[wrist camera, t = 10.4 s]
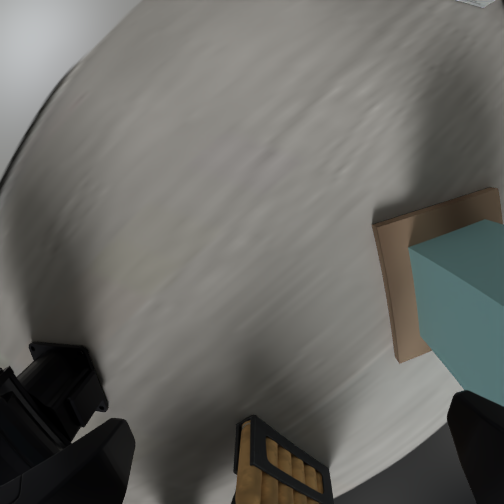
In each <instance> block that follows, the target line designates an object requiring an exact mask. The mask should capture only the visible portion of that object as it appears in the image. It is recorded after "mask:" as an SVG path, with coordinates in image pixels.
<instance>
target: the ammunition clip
mask: <svg viewBox="0 0 504 504" xmlns="http://www.w3.org/2000/svg"><path fill="white" fill-rule="evenodd" d="M233 472H234V473H235V474H236V475H237V484H236V495H235V501H236V504H334V501H333V493H332V486H331V479H330V473H329V468H327V467H326V466H324V465H323V464H321V463H320V462H318V461H317V460H315V459H314V458H312V457H311V456H309V455H308V454H307V453H305V452H304V451H302V450H301V449H299V448H298V447H297V446H295V445H294V444H293V443H291V442H290V441H288V440H287V439H286V438H284V437H283V436H282V435H280V434H279V433H278V432H276V431H275V430H274V429H272V428H271V427H270V426H268V425H267V424H266V423H265V422H263V421H262V420H261V419H259V418H258V417H257V416H256V415H252V416H250V417H249V418H247V419H245V420H244V421H242V422H240V423H238V424H237V427H236V443H235V457H234V470H233Z"/></svg>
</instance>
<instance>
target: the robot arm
mask: <svg viewBox="0 0 504 504" xmlns="http://www.w3.org/2000/svg"><path fill="white" fill-rule="evenodd" d="M29 349H30V352H31V355H32V357H33V360H34V361H33V362H32V363H31V364H30V365H29V366H28V367H27V368H26V369H25V370H24V371H23V372H22V373H21V374H19V375H18V376H17V377H16V376H15V375H14V371H13V370H12V368H11V367H10V366H9V367H7V368H5V369H4V370H3V369H2V368H0V504H122V503H123V500H124V497H125V493H126V490H127V485H128V481H129V475H130V470H131V465H132V460H133V455H134V450H135V439H134V436H133V434H132V432H131V429H130V427H129V425H128V423H127V421H126V420H125V419H120V418H111V419H109V420H107V421H106V422H104V423H103V424H101V425H100V426H98V427H97V428H95V429H94V430H92V431H91V432H89V433H88V434H86V435H85V436H83V437H82V438H80V439H78V440H77V441H75V442H74V443H71V441H72V440H73V438H74V437H75V435H76V434H77V432H78V431H79V429H80V428H81V427H85V426H86V424H87V423H88V421H89V420H90V418H91V416H92V415H93V413H94V412H95V411H99V412H106V411H107V410H108V408H109V407H108V404H107V401H106V399H105V397H104V394H103V391H102V389H101V386H100V384H99V381H98V378H97V376H96V373H95V370H94V367H93V365H92V362H91V359H90V356H89V353H88V350H87V349H86V348H85V347H84V346H77V345H64V344H52V343H41V342H32V343H30V344H29ZM81 352H83V354H82V353H81ZM447 422H448V425H449V428H450V431H451V434H452V437H453V441H454V444H455V447H456V450H457V454H458V457H459V460H460V463H461V466H462V468H463V470H464V473H465V475H466V478H467V480H468V483H469V485H470V488H471V490H472V493H473V495H474V498H475V501H476V503H477V504H504V406H501V405H499V404H497V403H495V402H493V401H491V400H488V399H486V398H484V397H482V396H480V395H478V394H476V393H474V392H471V391H469V390H464V391H461V392H457V393H455V395H454V396H453V399H452V402H451V405H450V408H449V411H448V414H447Z"/></svg>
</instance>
